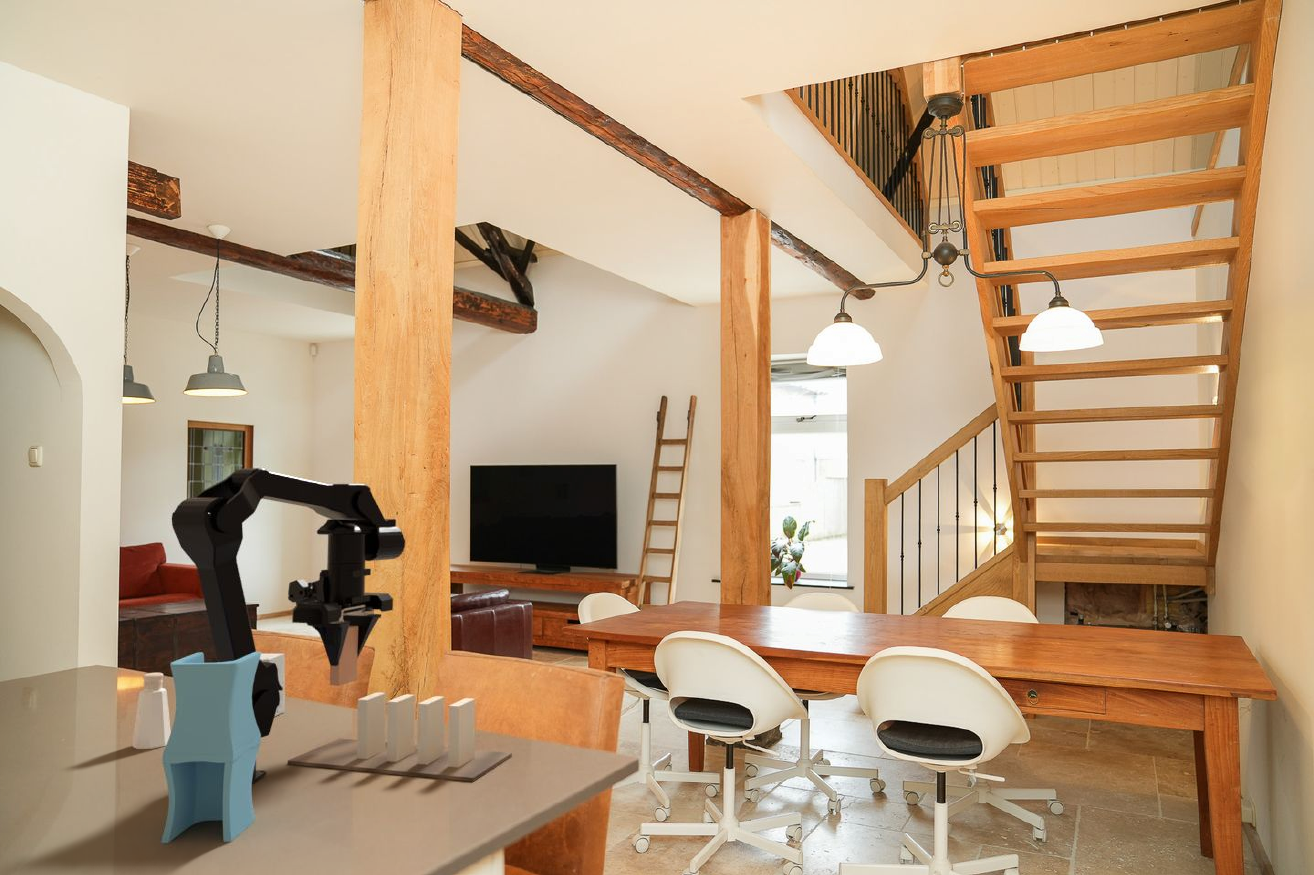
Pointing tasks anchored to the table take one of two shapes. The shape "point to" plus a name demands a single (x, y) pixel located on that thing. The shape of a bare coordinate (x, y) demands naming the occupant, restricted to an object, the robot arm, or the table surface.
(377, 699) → the domino
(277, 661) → the small box
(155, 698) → the pepper shaker
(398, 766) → the walnut board
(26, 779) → the table surface
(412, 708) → the domino
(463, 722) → the domino
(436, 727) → the domino
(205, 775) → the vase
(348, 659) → the terracotta domino
